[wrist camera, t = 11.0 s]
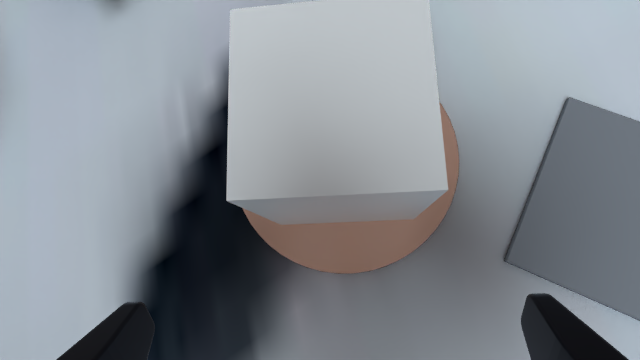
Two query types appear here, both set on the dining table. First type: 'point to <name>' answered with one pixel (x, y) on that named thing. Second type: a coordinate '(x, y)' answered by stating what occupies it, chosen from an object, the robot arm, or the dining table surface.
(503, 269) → the dining table surface
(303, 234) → the plate
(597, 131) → the mat
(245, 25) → the white block
